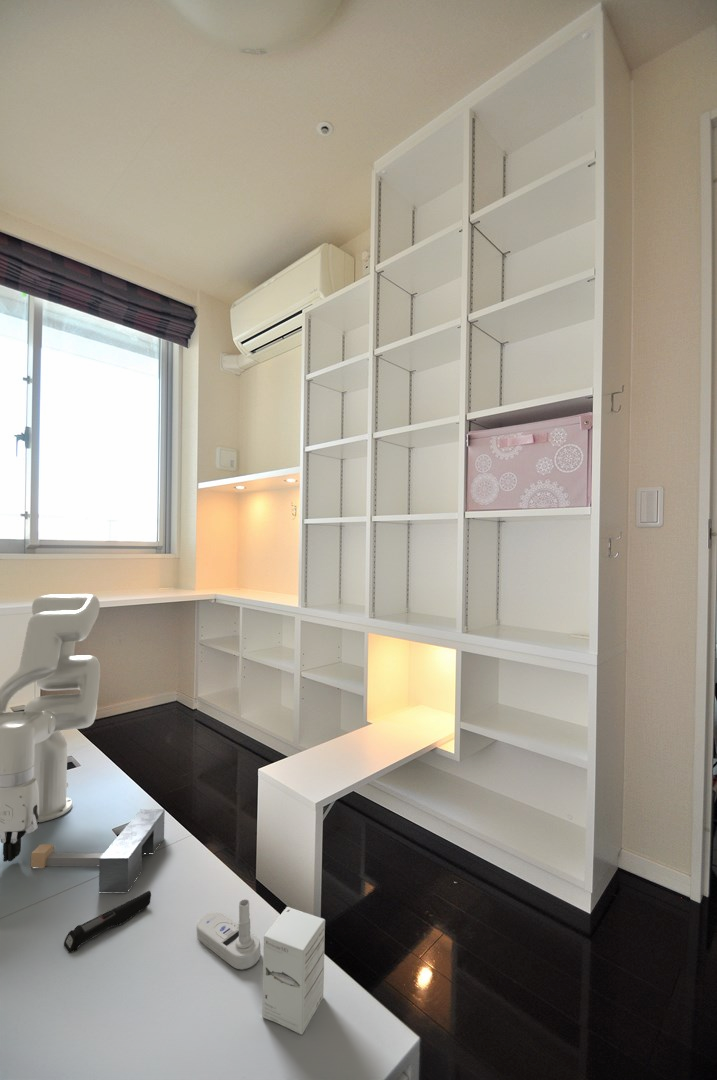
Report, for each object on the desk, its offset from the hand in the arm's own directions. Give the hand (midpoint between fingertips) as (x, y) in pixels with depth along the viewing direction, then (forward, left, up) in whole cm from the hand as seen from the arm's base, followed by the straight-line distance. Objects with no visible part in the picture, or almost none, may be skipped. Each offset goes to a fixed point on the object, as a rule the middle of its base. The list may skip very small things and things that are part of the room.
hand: (11, 857), depth 113 cm
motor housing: (+4, +27, -2) cm, 28 cm away
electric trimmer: (+24, +28, -2) cm, 37 cm away
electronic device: (+33, +51, -2) cm, 60 cm away
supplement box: (+47, +62, -2) cm, 78 cm away
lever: (+3, +16, -1) cm, 17 cm away
